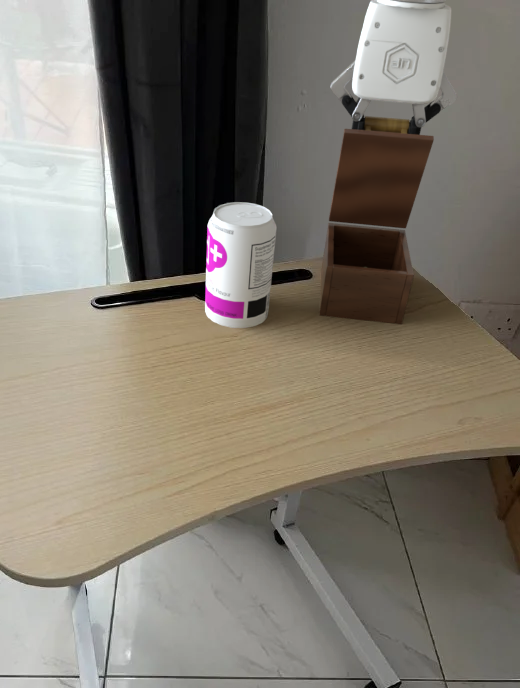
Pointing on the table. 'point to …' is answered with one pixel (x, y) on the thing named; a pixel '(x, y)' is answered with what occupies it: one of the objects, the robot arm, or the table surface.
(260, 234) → the supplement can
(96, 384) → the table surface
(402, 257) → the chest
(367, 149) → the lid
